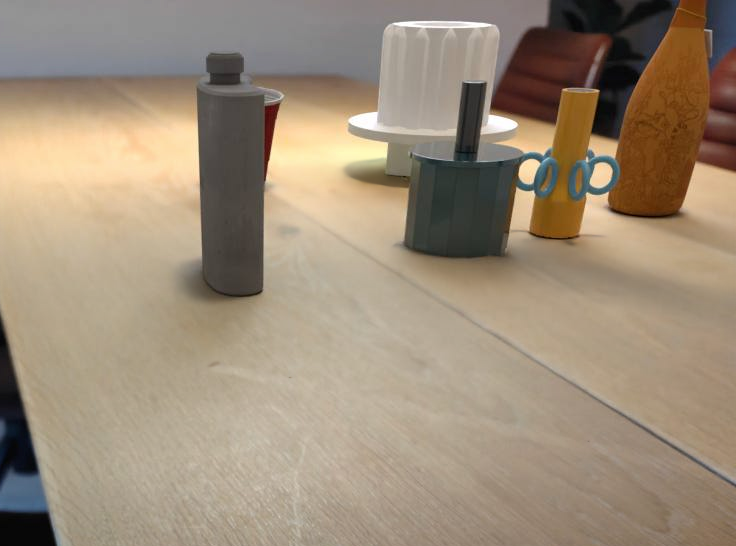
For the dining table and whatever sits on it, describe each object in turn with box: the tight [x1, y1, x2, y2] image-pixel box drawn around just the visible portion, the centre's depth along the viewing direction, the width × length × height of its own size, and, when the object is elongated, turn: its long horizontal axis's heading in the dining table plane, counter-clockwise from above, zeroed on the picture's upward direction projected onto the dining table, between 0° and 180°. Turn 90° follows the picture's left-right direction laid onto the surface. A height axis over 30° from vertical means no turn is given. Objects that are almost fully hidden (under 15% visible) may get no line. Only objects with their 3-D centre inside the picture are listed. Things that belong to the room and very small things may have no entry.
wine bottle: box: [607, 0, 713, 217], centre depth 111 cm, size 10×10×30 cm
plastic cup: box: [257, 86, 285, 186], centre depth 128 cm, size 11×11×12 cm
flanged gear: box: [347, 20, 519, 178], centre depth 134 cm, size 25×25×19 cm
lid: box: [408, 80, 525, 168], centre depth 97 cm, size 12×12×8 cm
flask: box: [195, 50, 265, 297], centre depth 90 cm, size 15×6×20 cm, turn 7°
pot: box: [403, 159, 521, 259], centre depth 102 cm, size 12×12×10 cm
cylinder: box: [516, 87, 620, 239], centre depth 106 cm, size 12×10×15 cm
